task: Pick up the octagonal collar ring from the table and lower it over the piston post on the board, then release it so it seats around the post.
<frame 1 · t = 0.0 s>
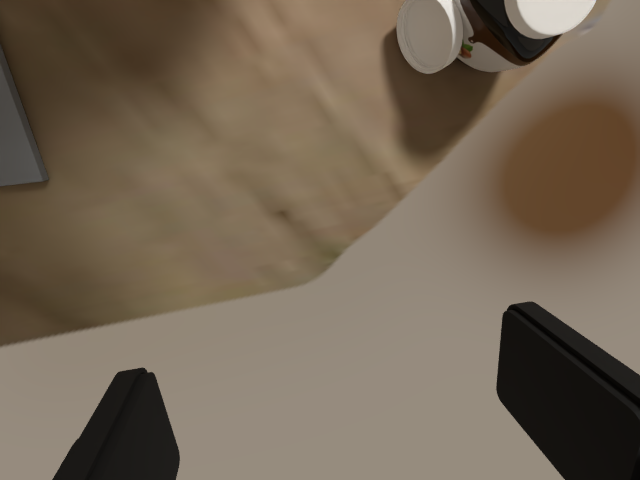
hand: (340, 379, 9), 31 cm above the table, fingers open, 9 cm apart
spread jar: (452, 30, 36), on the table
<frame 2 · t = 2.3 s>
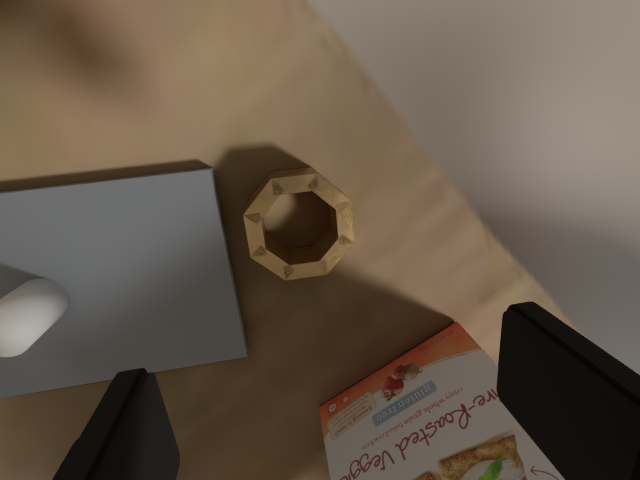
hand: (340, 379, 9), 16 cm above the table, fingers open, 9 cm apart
cracker box: (397, 381, 31), on the table
ring: (296, 216, 25), on the table
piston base: (99, 285, 24), on the table
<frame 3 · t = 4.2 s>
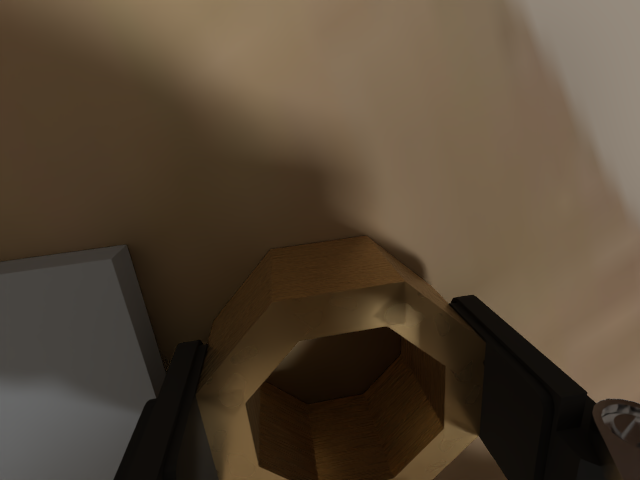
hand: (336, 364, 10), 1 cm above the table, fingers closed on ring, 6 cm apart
ring: (329, 341, 11), on the table, touching gripper
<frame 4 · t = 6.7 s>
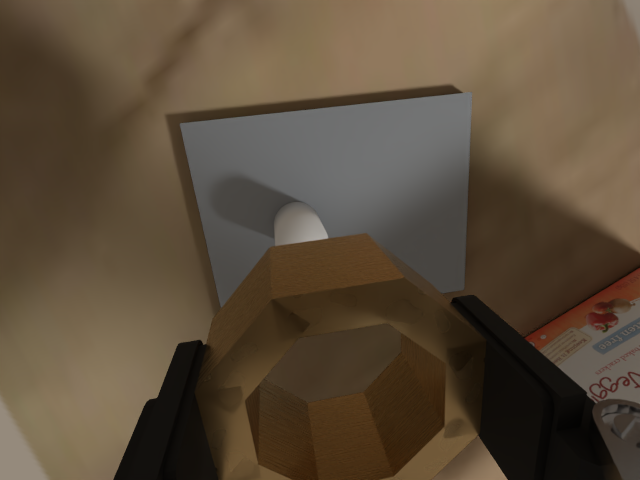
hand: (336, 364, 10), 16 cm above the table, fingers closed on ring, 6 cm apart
cracker box: (583, 322, 32), on the table
ring: (329, 339, 11), point 14 cm above the table, touching gripper
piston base: (338, 214, 25), on the table
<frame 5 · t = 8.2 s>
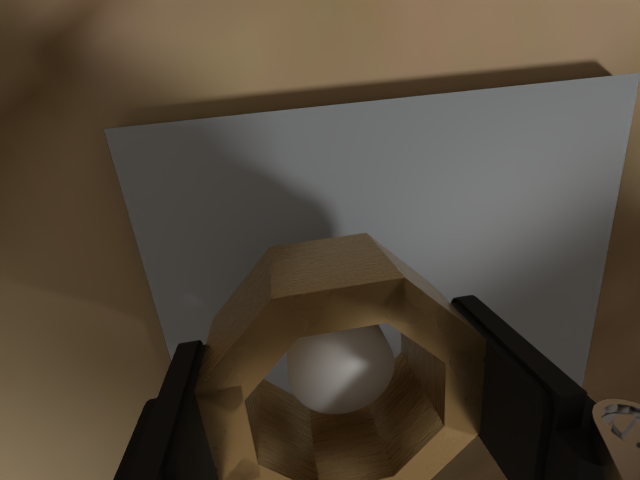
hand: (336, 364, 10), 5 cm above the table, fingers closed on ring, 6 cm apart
ring: (329, 339, 11), point 4 cm above the table, touching gripper
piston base: (389, 279, 15), on the table
when the fingers open (3 cm above the table, at t = 9.4 s): ring stays where it is, resting on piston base.
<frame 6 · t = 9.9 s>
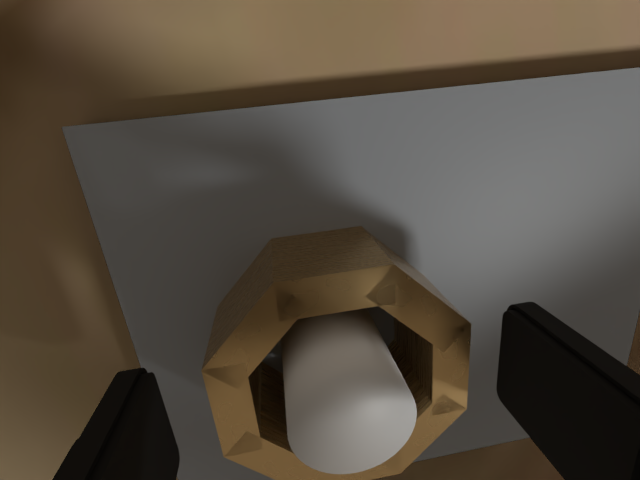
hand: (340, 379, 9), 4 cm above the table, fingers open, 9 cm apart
ring: (326, 326, 12), point 1 cm above the table, touching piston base
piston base: (402, 298, 13), on the table
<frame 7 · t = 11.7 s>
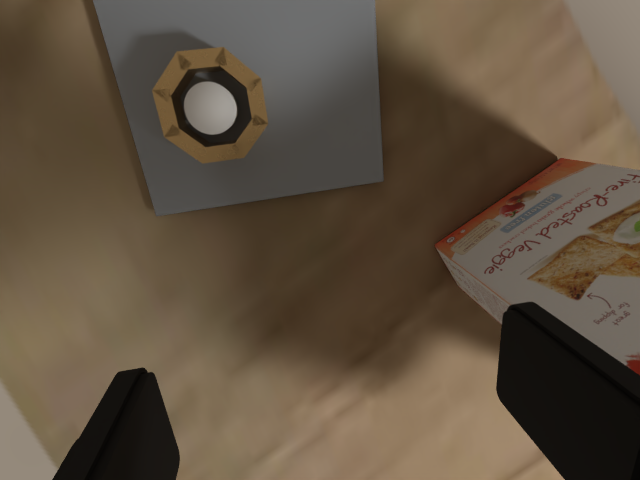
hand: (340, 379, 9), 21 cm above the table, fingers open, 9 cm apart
cracker box: (502, 222, 34), on the table
ring: (216, 108, 25), point 1 cm above the table, touching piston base
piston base: (258, 103, 27), on the table
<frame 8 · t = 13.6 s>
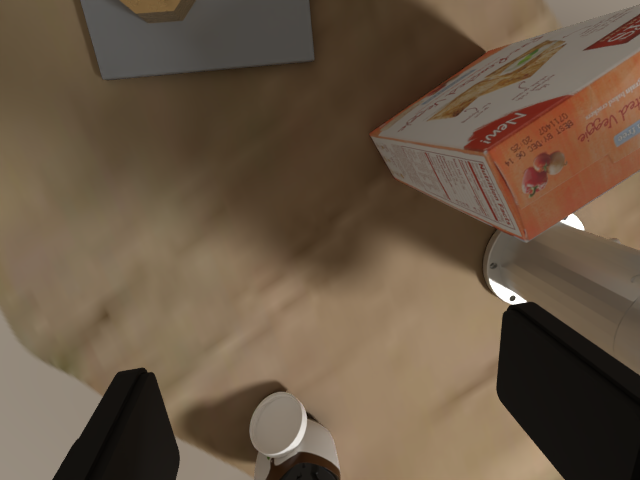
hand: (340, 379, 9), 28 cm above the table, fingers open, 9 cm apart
cracker box: (436, 116, 36), on the table
spread jar: (286, 424, 46), on the table
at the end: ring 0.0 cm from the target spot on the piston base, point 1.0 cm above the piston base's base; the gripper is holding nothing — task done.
